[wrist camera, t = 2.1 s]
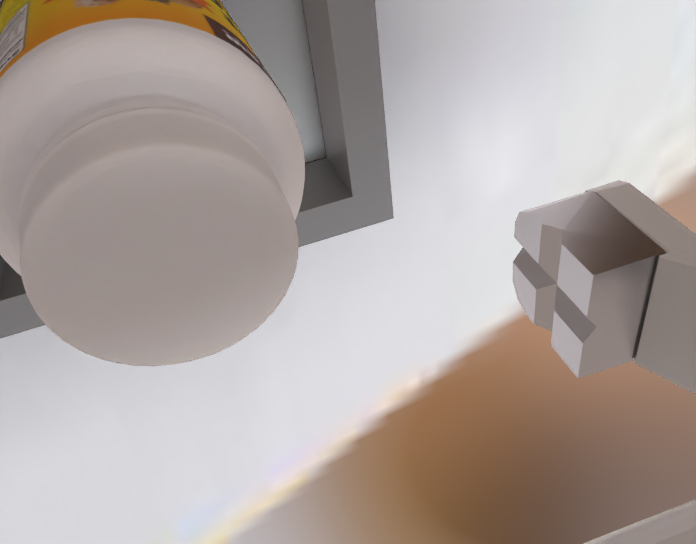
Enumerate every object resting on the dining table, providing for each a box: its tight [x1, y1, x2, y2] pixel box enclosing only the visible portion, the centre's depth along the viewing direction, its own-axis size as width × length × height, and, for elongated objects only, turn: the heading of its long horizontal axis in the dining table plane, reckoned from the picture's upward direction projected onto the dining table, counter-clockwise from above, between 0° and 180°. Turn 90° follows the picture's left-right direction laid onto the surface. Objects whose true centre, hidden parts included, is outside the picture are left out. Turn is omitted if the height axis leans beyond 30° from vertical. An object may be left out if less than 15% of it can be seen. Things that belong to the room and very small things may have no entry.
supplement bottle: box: [0, 0, 305, 366], centre depth 13 cm, size 6×6×10 cm
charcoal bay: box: [0, 0, 393, 338], centre depth 17 cm, size 12×11×2 cm
